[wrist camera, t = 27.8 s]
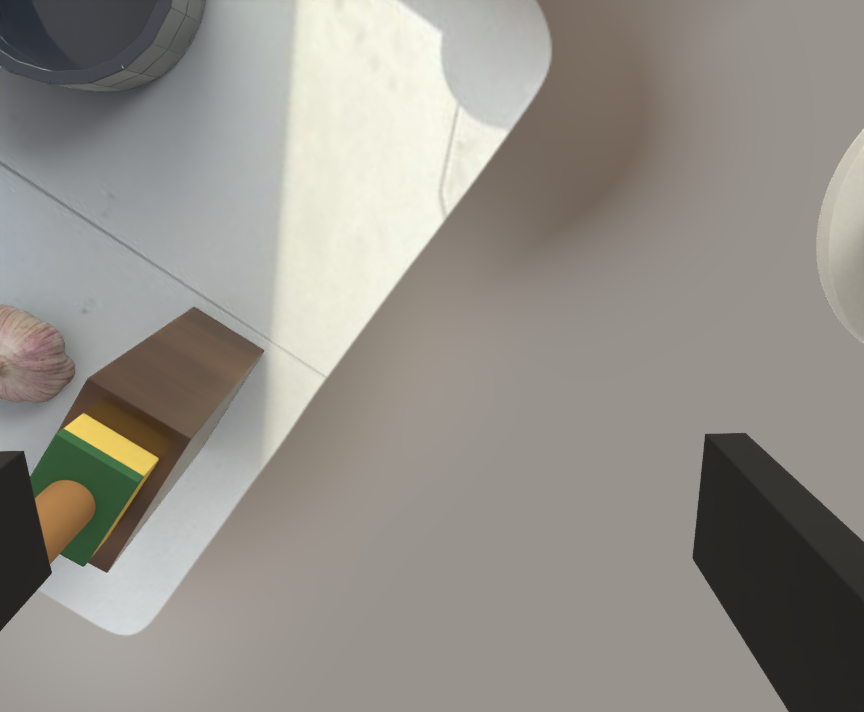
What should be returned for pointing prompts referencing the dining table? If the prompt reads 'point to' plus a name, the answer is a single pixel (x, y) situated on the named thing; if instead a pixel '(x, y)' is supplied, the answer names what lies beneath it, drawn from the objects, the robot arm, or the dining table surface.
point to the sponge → (86, 486)
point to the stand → (165, 406)
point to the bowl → (96, 40)
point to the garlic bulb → (31, 358)
